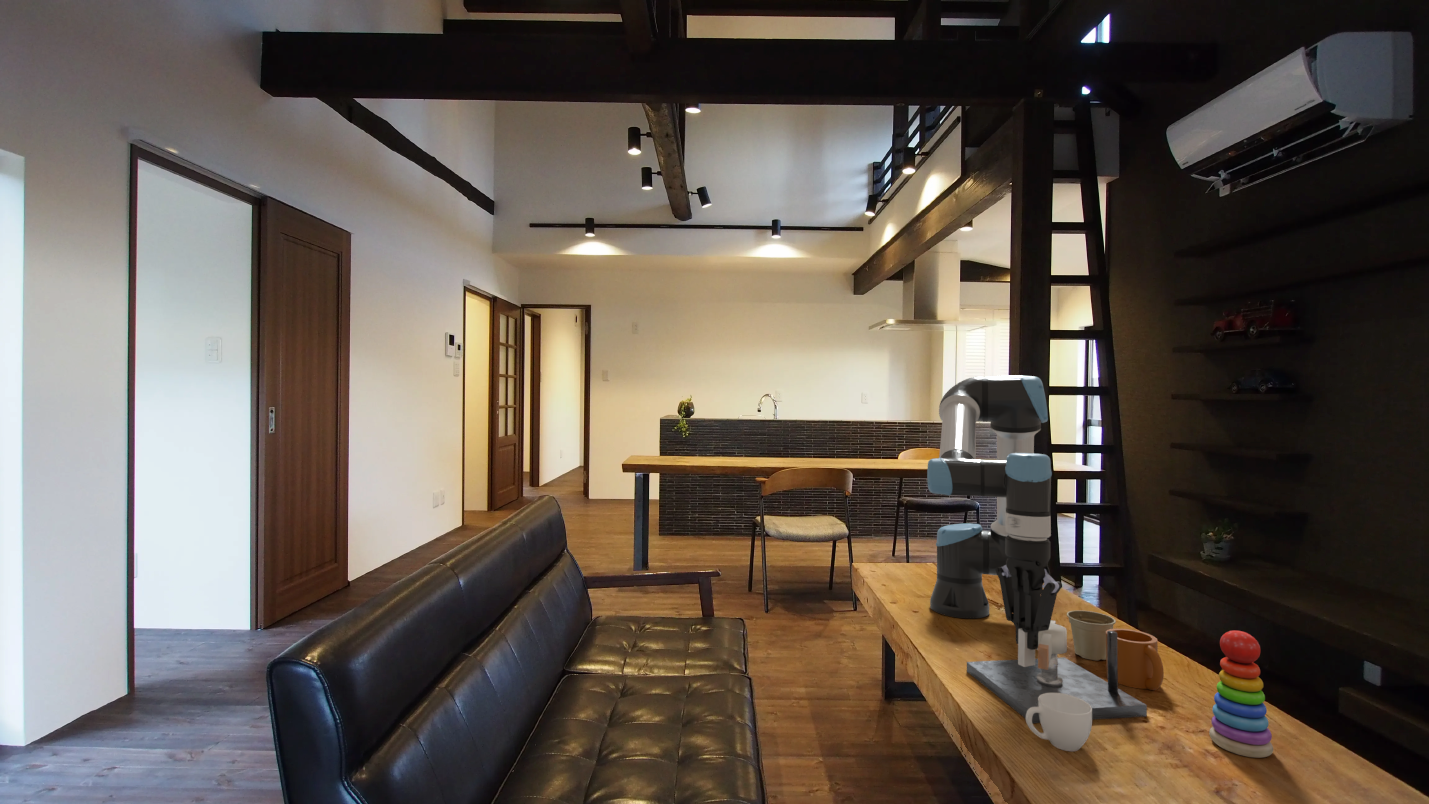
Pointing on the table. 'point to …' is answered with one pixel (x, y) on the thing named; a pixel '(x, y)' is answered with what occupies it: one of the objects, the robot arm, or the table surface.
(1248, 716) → the stacking toy
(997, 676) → the base plate
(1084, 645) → the flower pot
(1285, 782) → the table surface
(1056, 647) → the white lever
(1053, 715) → the cup
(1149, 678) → the mug
